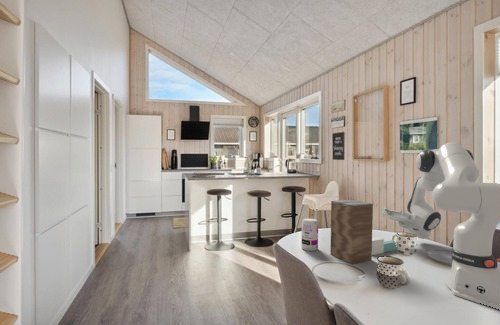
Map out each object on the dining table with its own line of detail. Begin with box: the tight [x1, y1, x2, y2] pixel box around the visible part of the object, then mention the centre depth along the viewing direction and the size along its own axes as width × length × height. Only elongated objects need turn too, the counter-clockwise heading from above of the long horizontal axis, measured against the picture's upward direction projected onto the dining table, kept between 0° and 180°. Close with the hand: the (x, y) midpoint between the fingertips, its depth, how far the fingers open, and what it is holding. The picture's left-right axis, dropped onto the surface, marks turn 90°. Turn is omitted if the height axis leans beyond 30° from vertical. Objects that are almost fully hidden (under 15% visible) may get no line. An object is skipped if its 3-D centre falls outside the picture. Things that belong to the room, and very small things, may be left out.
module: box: [372, 236, 398, 256], centre depth 149 cm, size 5×19×7 cm, turn 115°
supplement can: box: [301, 217, 319, 252], centre depth 152 cm, size 8×8×15 cm
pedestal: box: [329, 199, 374, 265], centre depth 140 cm, size 14×12×26 cm
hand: (393, 210), depth 153 cm, fingers open, 8 cm apart
